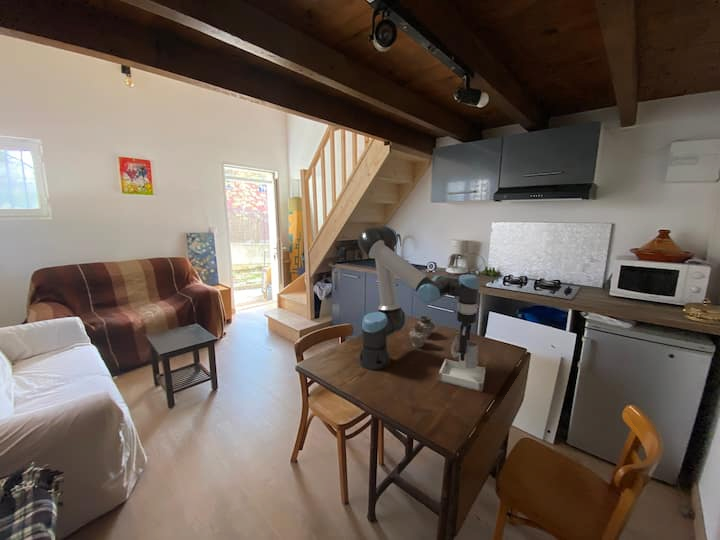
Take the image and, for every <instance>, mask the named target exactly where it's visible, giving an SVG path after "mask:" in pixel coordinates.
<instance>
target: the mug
mask: <svg viewBox="0 0 720 540" xmlns="http://www.w3.org/2000/svg"><path fill="white" fill-rule="evenodd" d="M457 345H460V336H459V335H458V334H455V335H454V339H453V342H452V344H451V347H450V349H451V350H450V351H451V352H450V354H451V355H452V358H456V357H459V352H458V350H456V349H457ZM478 354H479V346H478V343H477V342H476V341H474V340H471V339H470V340H467V348H466V367H465V368H468V369H474V368H476V367H477V366H478V365H479V360H478Z"/></svg>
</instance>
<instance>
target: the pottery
mask: <svg viewBox="0 0 720 540" xmlns="http://www.w3.org/2000/svg"><path fill="white" fill-rule="evenodd" d="M431 320H432V319H431V317H430V316H429V315H423V316H422V315H421V316H420V317H419V321H417V322H415V323H413V328H414V329H412V330H411V331H409V333H408V335H409V338H410V342H412V346H413V347H414V348H415V347H416V348H422V347H424V343H425V342H426V341H427V340H428V338H429V337H430V335H431V334H432V333H433V332H434V331H435V329H436V324H434V323H433V322H431Z"/></svg>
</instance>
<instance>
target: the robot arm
mask: <svg viewBox="0 0 720 540" xmlns="http://www.w3.org/2000/svg"><path fill="white" fill-rule="evenodd" d="M398 241H399V236H398V233H397V231H396V230H395V229H393V228H392V227H391V226H388V225H380V226H379V225H378V226H367V227H366V228H363V229H362V230H361V231H360V233H359V235H358V239H357V244H358V246H359V249H360V250H361V251H362V252H363V253H364V254H365V255H366V256H367V257H368V258H370V259H374V261H375V268H376V277H377V284H378V292H379V300H380V304H379V306H378V307H377V309H378V310H377V311H374V312H373V311H372V312H369V313H367V314H365V315H364V316H363V318H362V324H361V327H362V330H361V331H362V336H361V337H362V347H361V349H360V353H359V355H358V363H359V365H360V366H362V367H363V368H365V369H368V370H381V369H386V368H387V367H388V366H389V365H390V364H391V356H390V353H389V350H388V337H390V336H392V335H394V334H396V333H398V332H400V331H401V330H402V329H403V328H405V326H406V323H407V314H406V312H405V311H404V310H403V308H402V305H401V304H400V303H398V297H397V295H398V294H397V286H396V279H395V277H396V276H397V278H399V279H400V280H401V281H403V282H404V283H406V285H407V286H409V287H411V289H412V290H414V291H416V292H417V297H418V298H419V300H420V301H421V303H423V304H431V303H435V302H436V301H438V300H439V299H441V298H444V297H445V296H450V297H457V298H458V300H457V312H456V313H457V315H456V320H457V321H458V322H459V323H461V325H460V328H459V329H460V333H459V341H460V344H459V349H458V350H457V352H459V356H458V362H459V366H460V367H464V368H465V367H466V348H467V340H471V331H472V324H475V323H476V322H477V312H478V308H479V305H478V300H479V289H480V286H479V285H480V284H479V283H480V282H479V281H480V280H479V279H480V278H479V277H478V276H477V275H474V274H460V276H459V278H454V277H448V276H445V275H444V276H443V275H434V276H432V278H430V277H429V276H427V275H426V274H424V273H423V272H422V271H420V270H419V269H418V268H416V267H415V266H413V264H411V263H410V262H408V260H405V258H403V257H402V256H400V255H399V254H398V253H396V249H395V247H396V246H397V244H398Z"/></svg>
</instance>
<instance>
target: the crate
mask: <svg viewBox="0 0 720 540" xmlns="http://www.w3.org/2000/svg"><path fill="white" fill-rule="evenodd" d="M437 377H438V379H437V380H438V381H439V382H442V383H445V384H446V383H447V384H450V385H454V386H457V387H461V388H465V389H469V390H473V391H477V392H481V393H483V389H484V384H485V377H486V367H484V366H478V365H477V367H476V368H474V369H468V368H464V367H460V366H459V361H455V360H451V359H448V358H444V360H443V363H442V364H441V368H440V369H439V371H438V375H437Z"/></svg>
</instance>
